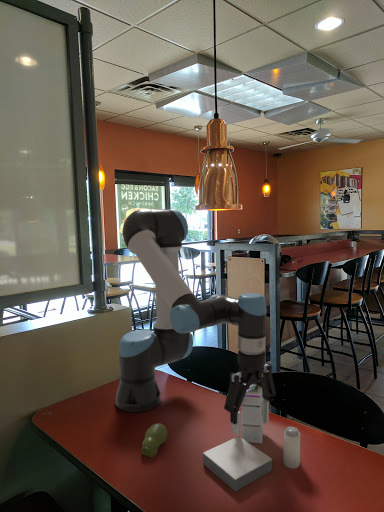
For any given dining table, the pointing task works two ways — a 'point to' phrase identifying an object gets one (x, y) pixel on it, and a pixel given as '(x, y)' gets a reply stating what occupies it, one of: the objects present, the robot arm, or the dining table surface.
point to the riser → (237, 462)
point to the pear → (153, 439)
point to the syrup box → (252, 415)
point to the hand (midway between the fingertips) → (250, 427)
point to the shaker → (291, 447)
